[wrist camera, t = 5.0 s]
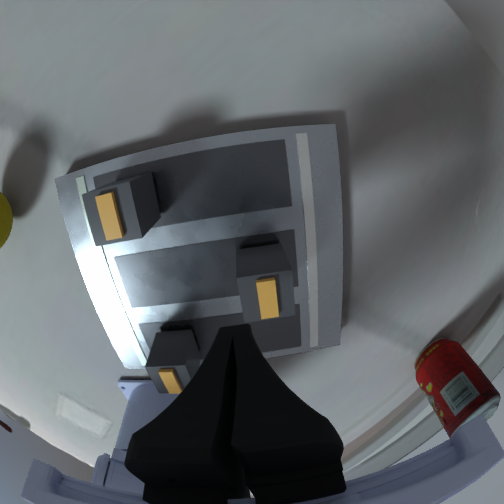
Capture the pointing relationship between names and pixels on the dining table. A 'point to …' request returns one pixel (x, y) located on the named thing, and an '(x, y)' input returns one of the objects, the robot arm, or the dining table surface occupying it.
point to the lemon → (5, 219)
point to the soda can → (454, 384)
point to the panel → (218, 239)
